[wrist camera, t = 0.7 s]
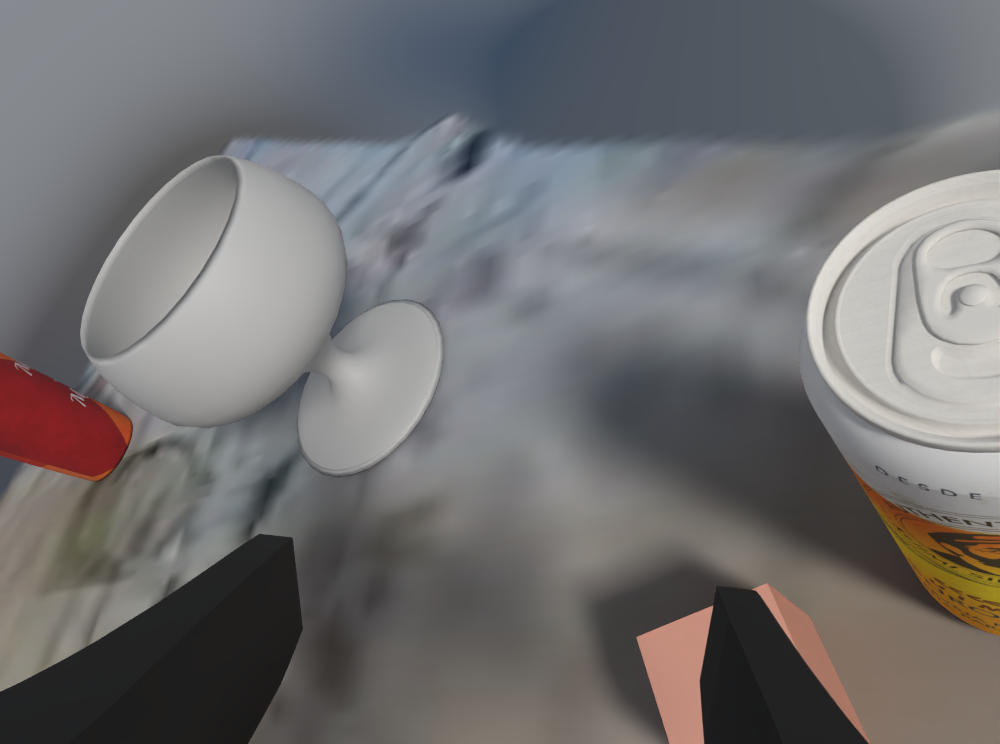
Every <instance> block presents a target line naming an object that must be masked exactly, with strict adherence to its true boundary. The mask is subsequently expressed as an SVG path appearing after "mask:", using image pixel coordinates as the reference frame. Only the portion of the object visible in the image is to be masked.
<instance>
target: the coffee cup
mask: <svg viewBox="0 0 1000 744" xmlns="http://www.w3.org/2000/svg"><path fill="white" fill-rule="evenodd" d="M132 429H133V427H132V422H131V420H130V419H129V418H127V417H126V416H124V415H122V414H121V413H119V412H117V411H115V410H113V409H111V408H109V407H107V406H105V405H103V404H101V403H100V402H98V401H96V400H94V399H92V398H90V397H88V396H86V395H84V394H82V393H80V392H78V391H76V390H74V389H72V388H70V387H68V386H66V385H64V384H62V383H60V382H58V381H56V380H54V379H52V378H50V377H48V376H46V375H44V374H42V373H40V372H38V371H36V370H34V369H32V368H30V367H28V366H26V365H24V364H22V363H20V362H18V361H16V360H14V359H12V358H10V357H8V356H6V355H4V354H2V353H0V456H3V457H7V458H10V459H14V460H18V461H21V462H24V463H28V464H31V465H35V466H38V467H42V468H45V469H49V470H53V471H56V472H60V473H63V474H67V475H71V476H74V477H78V478H82V479H86V480H90V481H100V480H102V479H104V478H105V477H107V476H108V475H109V474H110V473H111V472H112V471H113V470H114V469H115V468H116V466H117V465H118V464H119V462H120V461H121V459H122V458H123V456H124V454H125V452H126V450H127V448H128V446H129V443H130V440H131V436H132Z"/></svg>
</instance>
